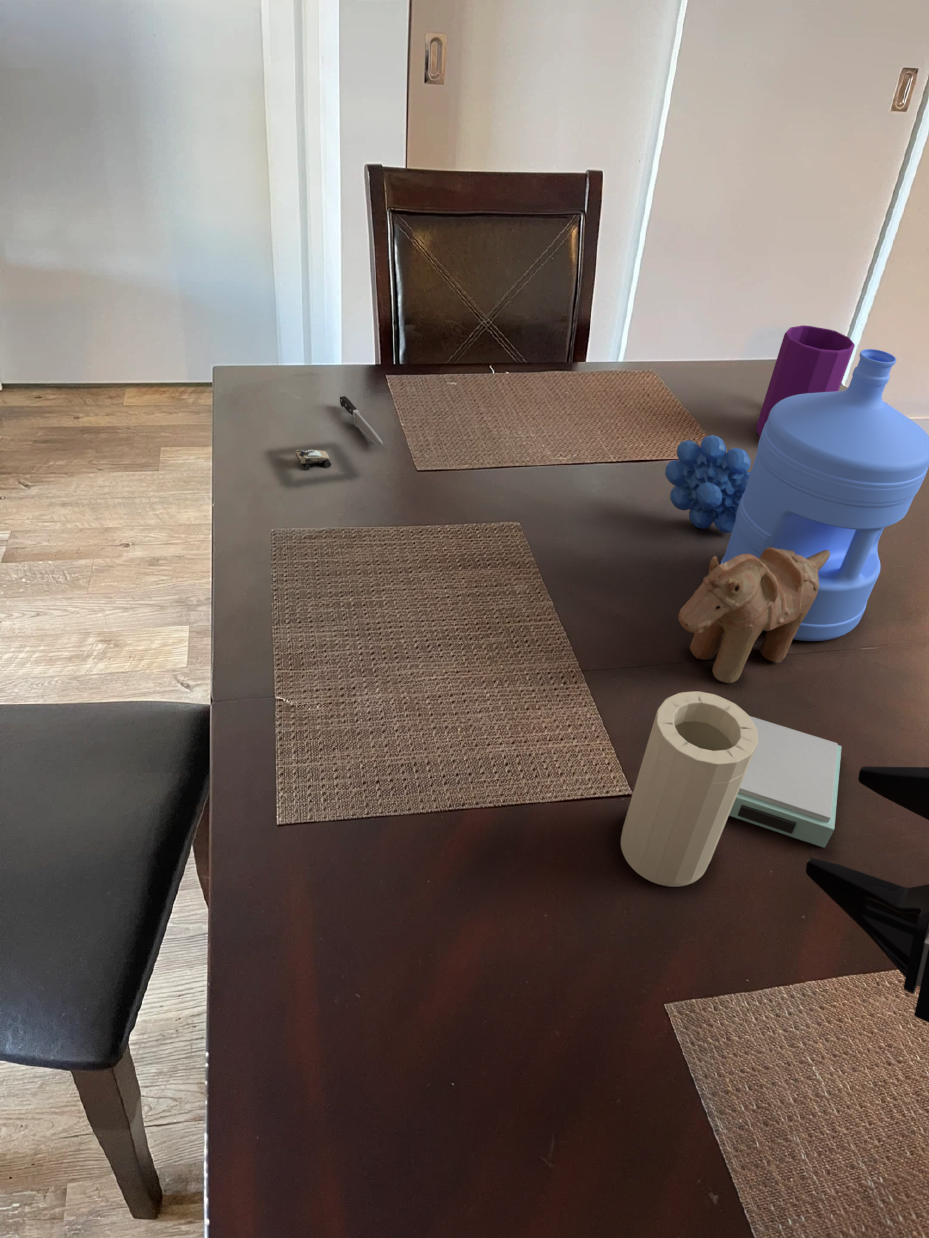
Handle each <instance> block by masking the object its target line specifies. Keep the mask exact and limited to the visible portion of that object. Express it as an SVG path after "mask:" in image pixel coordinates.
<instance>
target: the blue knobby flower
mask: <svg viewBox="0 0 929 1238" xmlns="http://www.w3.org/2000/svg"><path fill="white" fill-rule="evenodd" d="M676 456H677V458H678V459H674V460H670V461H669V462H668V463H667V464H666V465H665V472H664V475H665V477H666V479H667V481H668V482H669V483H670V484H671V485H672V486H673V487H672V489H671V490H670V496H669V499H670V502H671V504H672V505H673V506H674V507H675V508H676V509H677V510H680V511H688V510H689V512H688V518H689V520H690V523H691V524H692V525H693V526H694V527H696V528H698V529H704V530H706V529H709V528H710V527H711V526H712V524H714V526H715V528H716V529H717V530H718V531H719V532H721V533H723V534H732V531H733V527H734V524H735V521H736V514H737V510H738V507H739V503H740V500H741V498H742V495H743V493H744V492H745V489H746V486H747V483H748V480H749V477H750V473H751V471H749V470H750V468H751V462H752V460H751V458H750V456H749V454H748V452H747V451H746V450H745V449H743V448H740V447H732V448H730V449H728V451H727V446H726V444H725V442H724V440H723V439H722V438H720V437H719V436H717V435H715V434H710V435H706V436H704V437H703V439H702V440H701V442H700V444H698V443H697V442H696V441H694V440H690V439H687V440H683V441H681V442H679V445H677V449H676Z"/></svg>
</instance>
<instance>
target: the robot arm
mask: <svg viewBox="0 0 929 1238" xmlns="http://www.w3.org/2000/svg"><path fill="white" fill-rule="evenodd" d="M857 780H858V781H857V782H859V783H860V784H861V785H863V786H864V787H866V788H868V789H869V790H871V791H873V793H875V794H877V795H879V796H880V797H883V798H884V799H886V800H889V801H890V802H893V803H894V804H896V805H898V806H899V807H900V806H901V807H902V808H904V809H906V810H908V811H910V812H912V813H913V814H916V815H917V816H920V817H921V818H923V819H925V820H927V821H929V766H873V765H872V766H871V765H870V766H869V765H867V766H862V767H860V769H859V770H858V778H857ZM805 873H806V875H807V876H808V877H809V879H811V880H812V882H814V883H815V884H816V886H818V887H819V888H820V889H821V890H822V891H823V892H824V893H825V894H826V896H828V897H829V898H830V899H831V900H832V901H833V902H834V903H835V904H836V905H837V906H838V907H840V908H841V910H842V911H844V913H846V915H848V916H849V918H851V920H852V921H854V922H855V923H856V924H857V925H858V926H859V927H860V928H861V929H862V930H863V931H864V932H865V933H866V935H868V937H870V939H871V940H872V941H873V942H874V943H875V945H876V946H877V947H878V948H879V949H880V951H882V952H883V954H884V955H885V956H886V957H887V958H888V959H889V961H890V962H891V963H892V964H893V965H894V966H895V967H896V969H897V970H898V971H899V972H900V973H901V975H903V977H904V981H903V982H904V983H903V990H904V991H905V992H907V993H909V994H911V995H914V994H915V993H916V990H917V987H919V992H918V996H917V1001H916V1005H915V1010H914V1015H913V1017H915V1018H918V1019H919V1020H922V1021H924V1022H927V1023H928V1024H929V884H923V885H917V886H912V887H906V886H902V885H899V884H896V883H893V882H891V881H888V880H884V879H882V878H879V877H876V876H873V875H870V874H868V873H864V872H861V871H859V870H855V869H853V868H850V867H847V866H844V865H841V864H838V863H835V862H831V861H827V860H823V859H819V858H815V857H810V858H808V859H807V861H806V866H805Z"/></svg>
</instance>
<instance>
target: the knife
mask: <svg viewBox="0 0 929 1238" xmlns="http://www.w3.org/2000/svg"><path fill="white" fill-rule="evenodd" d="M339 404H340V406H341V408H344V409H345V410H346V412H347V413H348V414H350V415H352V416H353V421H354V426H355V428H358V429H359V430H360V431H361V432H362V433H363V434H364V435H365V436H366V437H367V438H368V439H369V440H370V441H371V442H372V443H373V444H374V445H377V446H380V447H384V443H383V442H384V441H383V440H382V439H381V438H380V436H379V435H378V433H377V432H376V431H375V430H374V428H373V427H372V426H371V425H370V423H368V422H367V420H366V419H365V418H364V417H363V416H362V415H361V413H360V411H359V410H358V408H357V407H356V406H355V405H354V404H353V402H351V400H350V399H349V398H348V397H347V396H346V395H343V396H339Z"/></svg>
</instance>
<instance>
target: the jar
mask: <svg viewBox="0 0 929 1238" xmlns="http://www.w3.org/2000/svg"><path fill="white" fill-rule="evenodd" d="M749 716H750V715H749V714H748V713H747V712H746V711H745V710H744V709H742V708H741V707H740V706H739V705H737V703H734V702H733V701H730V700H729V699H726V698H724V697H721V696H720V695H717V694H715V693H709V692H704V691H695V690H694V691H683V692H678V693H676V694H674V695H671V696H669V697H667V698H665V699H664V701H663V702H662V703H661V704H660V705H659V707H658V708H657V710H656V714H655V717H654V720H653V724H652V728H651V731H650V734H649V737H648V740H647V744H646V747H645V751H644V754H643V757H642V761H641V765H640V767H639V772H638V776H637V778H636V781H635V784H634V788H633V791H632V795H631V799H630V802H629V805H628V809H627V812H626V816H625V818H624V819H625V820H624V822H623V826H622V831H621V835H620V848H621V852H622V855H623V858H624V859H625V861H626V862H627V864H628V865H629V866H630V868H631V869H633V871H634V872H636V874H638V875H639V876H641V877H642V878H644V879H646V880H648V881H649V882H652V883H654V884H656V885H661V886H665V887H671V888H673V887H674V888H675V887H678V888H679V887H685V886H688V885H691V884H693V883H695V882H697V881H698V880H699V879H700V878H702V877H703V876H704V874H705V873H706V871H707V870H708V866H709V864H710V863H711V862H712V859H713V856H714V854H715V851H716V849H717V847H718V844H719V841H720V839H721V837H722V833H723V831H724V829H725V826H726V824H727V821H728V818H729V817H730V816H729V814H730V811H731V809H732V806H733V804H734V801H735V799H736V797H737V794H738V792H739V789H740V787H741V784H742V782H743V779H744V777H745V774H746V772H747V769H748V767H749V764H750V762H751V759H752V757H753V754H754V752H755V749H756V747H757V744H758V737H757V729H756V727H755V725H754V724H753V722H752V720H751V718H750V717H749Z"/></svg>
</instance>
